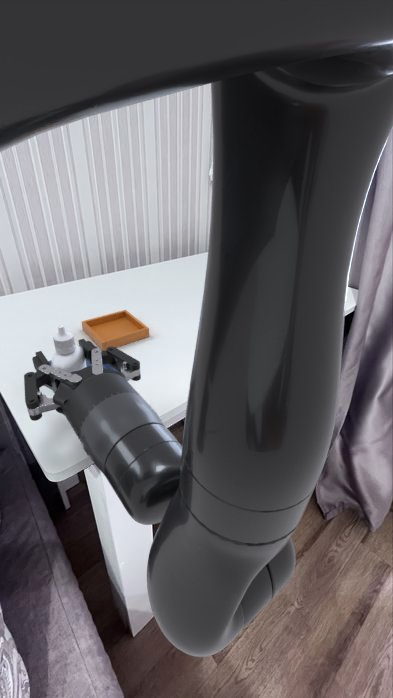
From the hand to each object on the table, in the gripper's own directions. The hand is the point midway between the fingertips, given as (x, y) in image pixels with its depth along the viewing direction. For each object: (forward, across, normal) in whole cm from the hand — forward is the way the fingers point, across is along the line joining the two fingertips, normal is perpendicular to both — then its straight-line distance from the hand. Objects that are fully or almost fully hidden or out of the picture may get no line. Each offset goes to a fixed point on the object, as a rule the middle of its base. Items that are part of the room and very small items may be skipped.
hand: (61, 351), depth 45 cm
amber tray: (+16, -15, +10) cm, 24 cm away
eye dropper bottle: (-3, 0, +7) cm, 8 cm away
